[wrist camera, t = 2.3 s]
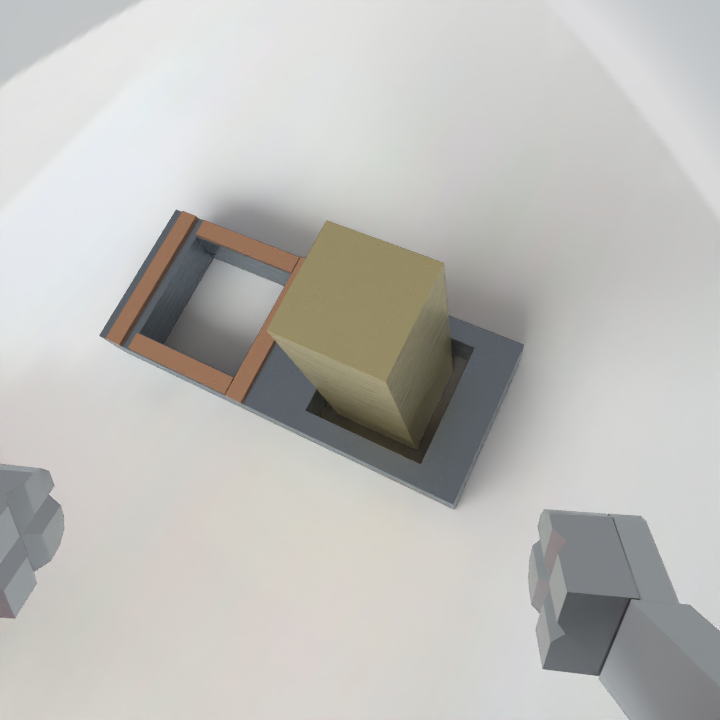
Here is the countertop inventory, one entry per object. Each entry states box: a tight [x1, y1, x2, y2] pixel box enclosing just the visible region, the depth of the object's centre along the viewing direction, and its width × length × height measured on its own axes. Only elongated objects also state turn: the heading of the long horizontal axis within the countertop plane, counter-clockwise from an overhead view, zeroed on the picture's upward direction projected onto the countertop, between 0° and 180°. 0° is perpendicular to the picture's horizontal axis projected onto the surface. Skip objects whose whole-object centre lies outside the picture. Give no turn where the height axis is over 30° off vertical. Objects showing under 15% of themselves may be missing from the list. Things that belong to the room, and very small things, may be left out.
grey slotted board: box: [99, 210, 524, 509], centre depth 32 cm, size 20×8×3 cm, turn 64°
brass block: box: [266, 220, 453, 450], centre depth 26 cm, size 4×4×12 cm
